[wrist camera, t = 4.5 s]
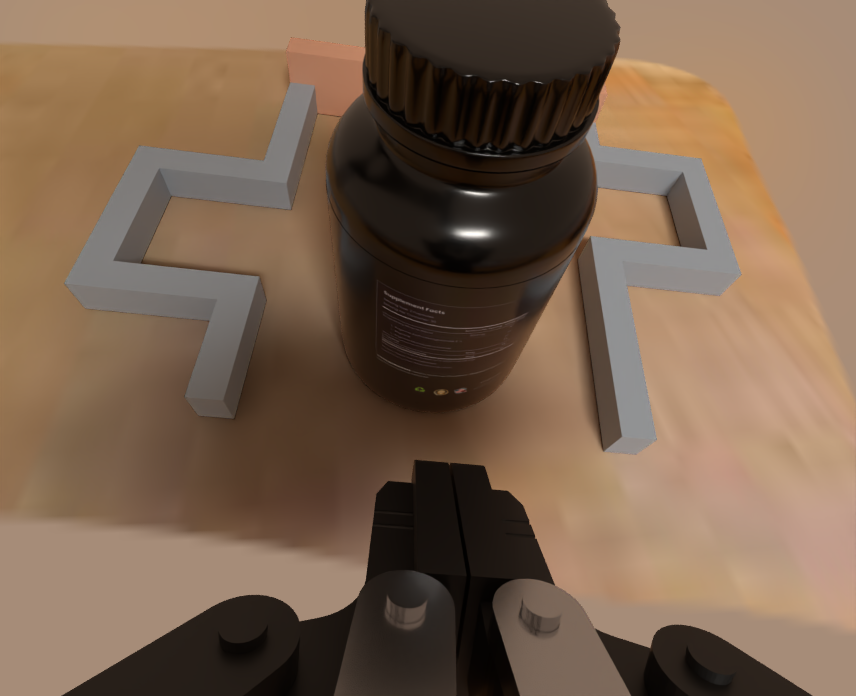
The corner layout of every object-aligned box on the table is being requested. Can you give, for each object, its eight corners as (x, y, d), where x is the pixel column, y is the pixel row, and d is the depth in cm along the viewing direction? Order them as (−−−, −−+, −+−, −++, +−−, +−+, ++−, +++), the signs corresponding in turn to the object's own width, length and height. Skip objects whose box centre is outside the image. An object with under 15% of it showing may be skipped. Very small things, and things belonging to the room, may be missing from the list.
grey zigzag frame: (38, 401, 16) (-23, 357, 14) (197, 83, 26) (179, 21, 23) (773, 466, 18) (840, 437, 16) (672, 145, 27) (704, 94, 25)
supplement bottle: (344, 268, 21) (321, -99, 10) (503, 273, 21) (627, -64, 11) (336, 421, 17) (291, 99, 7) (526, 420, 18) (737, 130, 8)
